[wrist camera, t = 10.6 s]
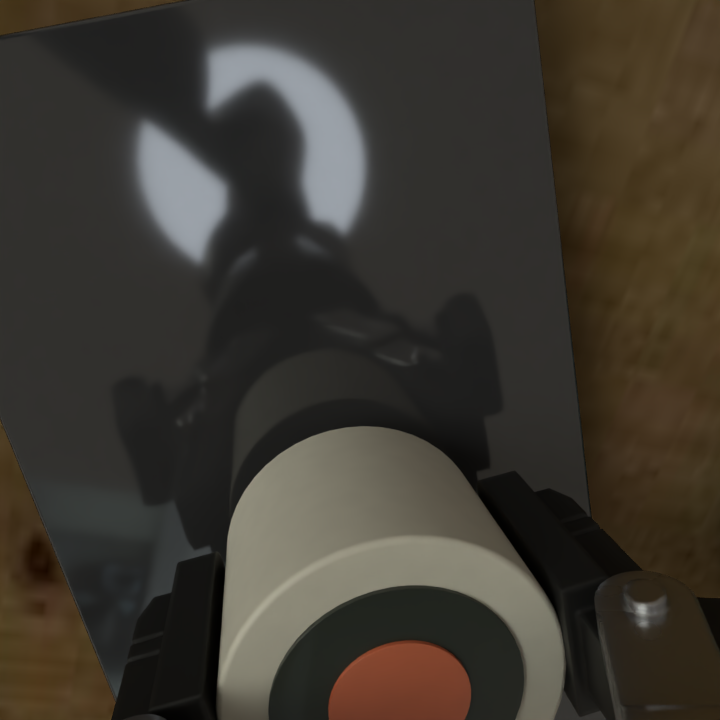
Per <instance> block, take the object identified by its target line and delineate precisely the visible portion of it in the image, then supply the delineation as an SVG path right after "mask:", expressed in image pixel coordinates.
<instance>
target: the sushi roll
mask: <svg viewBox="0 0 720 720" xmlns="http://www.w3.org/2000/svg"><path fill="white" fill-rule="evenodd" d="M565 675H566V658H565V651H564V644H563V637H562V631H561V626H560V623H559V619H558V616H557V613H556V611H555V609H554V606H553V605H552V603H551V601H550V600H549V598H548V597H547V595H546V593H545V592H544V590H543V589H542V587H541V586H540V584H539V583H538V581H537V580H536V579H535V577H534V576H533V574H532V573H531V571H530V570H529V568H528V567H527V566H526V564H525V563H524V561H523V560H522V558H521V557H520V556H519V554H518V553H517V551H516V550H515V548H514V547H513V545H512V544H511V543H510V541H509V540H508V538H507V537H506V535H505V534H504V532H503V531H502V530H501V528H500V527H499V525H498V524H497V522H496V521H495V520H494V518H493V517H492V515H491V514H490V512H489V511H488V509H487V508H486V507H485V505H484V504H483V502H482V501H481V499H480V498H479V496H478V495H477V494H476V492H475V491H474V489H473V488H472V486H471V485H470V483H469V482H468V481H467V479H466V478H465V476H464V475H463V473H462V472H461V471H460V470H459V468H458V467H457V466H456V465H455V464H454V462H453V461H452V460H451V459H450V458H448V457H447V456H446V455H445V454H444V453H443V452H442V451H441V450H439V449H437V448H436V447H434V446H433V445H431V444H430V443H428V442H427V441H425V440H422V439H420V438H418V437H416V436H414V435H411V434H408V433H405V432H402V431H399V430H394V429H389V428H383V427H370V426H359V427H346V428H341V429H335V430H330V431H327V432H324V433H320V434H317V435H314V436H311V437H309V438H307V439H305V440H303V441H301V442H299V443H296V444H295V445H293V446H291V447H290V448H288V449H287V450H285V451H283V452H282V453H280V454H279V455H278V456H277V457H275V458H274V459H273V460H272V461H270V462H269V463H268V464H267V465H266V466H265V467H264V468H263V469H262V470H261V471H260V472H259V473H258V474H257V475H256V476H255V477H254V479H253V480H252V481H251V483H250V484H249V485H248V487H247V488H246V490H245V491H244V493H243V495H242V497H241V498H240V500H239V502H238V504H237V506H236V509H235V511H234V514H233V517H232V519H231V523H230V528H229V532H228V539H227V553H226V567H225V580H224V594H223V608H222V622H221V636H220V650H219V664H218V677H217V691H216V706H215V708H216V718H217V720H554V718H555V715H556V712H557V710H558V707H559V704H560V702H561V697H562V693H563V689H564V685H565Z"/></svg>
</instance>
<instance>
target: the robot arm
mask: <svg viewBox="0 0 720 720" xmlns="http://www.w3.org/2000/svg"><path fill="white" fill-rule="evenodd" d="M477 492H478V496H479V498H480V499H481V501H482V502H483V504H484V505H485V507H486V508H487V509H488V511H489V512H490V514H491V515H492V517H493V518H494V520H495V521H496V522H497V524H498V525H499V527H500V528H501V530H502V531H503V532H504V534H505V535H506V537H507V538H508V540H509V541H510V543H511V544H512V545H513V547H514V548H515V550H516V551H517V553H518V554H519V556H520V557H521V558H522V560H523V561H524V563H525V564H526V566H527V567H528V568H529V570H530V571H531V573H532V574H533V576H534V577H535V579H536V580H537V581H538V583H539V584H540V586H541V587H542V589H543V590H544V592H545V593H546V595H547V597H548V598H549V600H550V601H551V603H552V605H553V606H554V609H555V611H556V613H557V616H558V619H559V623H560V626H561V631H562V637H563V644H564V651H565V658H566V675H565V685H564V689H563V690H564V692H565V693H566V695H567V697H568V698H569V700H570V702H571V703H572V705H573V707H574V709H575V710H576V712H577V714H578V715H579V717H582V716H585V715H589V714H592V713H595V712H598V711H601V712H602V714H603V715H604V717H605V718H606V720H720V598H700V597H696V595H695V594H694V592H693V591H692V590H691V589H690V588H689V587H688V586H686V585H685V584H684V583H682V582H681V581H679V580H677V579H675V578H673V577H670V576H668V575H665V574H661V573H657V572H651V571H643V570H642V569H641V568H640V567H639V566H638V565H637V564H636V563H635V562H634V561H633V560H632V559H631V558H630V557H629V556H628V555H627V554H626V553H625V552H624V551H623V550H622V549H621V548H620V547H619V546H618V544H617V543H616V542H615V541H614V540H613V539H612V538H611V537H610V536H609V535H608V534H607V533H606V532H605V531H604V530H603V529H600V527H599V525H598V524H597V523H596V522H595V521H594V520H593V519H592V518H591V517H590V516H589V517H588V515H587V513H586V512H585V511H584V510H583V509H582V508H581V507H580V506H579V505H578V504H577V503H576V502H575V501H574V499H573V498H571V497H568V496H566V495H564V494H562V493H559V492H557V491H555V490H553V489H550V488H548V489H544V490H540V491H537V492H534V491H533V490H532V489H531V487H530V486H529V485H528V484H527V483H526V482H525V481H524V480H523V478H522V477H521V476H520V475H519V474H518V473H517V472H516V471H511V472H507V473H504V474H500V475H496V476H493V477H489V478H485V479H482V480H478V482H477ZM224 580H225V565H224V562H223V560H222V557H221V555H220V554H219V552H213V553H210V554H206V555H202V556H199V557H195V558H191V559H188V560H184V561H181V562H178V563H177V566H176V571H175V576H174V581H173V586H172V592H171V593H168V594H164V595H161V596H157V597H154V598H153V599H152V600H151V602H150V603H149V605H148V606H147V607H146V609H145V610H144V611H143V613H142V614H141V615H140V617H139V618H138V619H137V623H136V627H135V631H134V635H133V638H132V645H131V646H130V650H129V654H128V658H127V661H128V664H126V665H125V669H124V673H123V677H122V681H121V685H120V689H119V692H118V696H117V700H116V704H115V708H114V712H113V716H112V719H111V720H217V718H216V708H215V706H216V691H217V677H218V664H219V650H220V636H221V622H222V608H223V594H224Z"/></svg>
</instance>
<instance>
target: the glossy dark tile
mask: <svg viewBox="0 0 720 720" xmlns="http://www.w3.org/2000/svg"><path fill="white" fill-rule="evenodd" d="M0 420H1V422H2V425H3V427H4V430H5V432H6V435H7V437H8V439H9V442H10V444H11V447H12V449H13V452H14V454H15V457H16V459H17V461H18V464H19V466H20V469H21V471H22V474H23V476H24V479H25V481H26V484H27V486H28V488H29V491H30V493H31V496H32V498H33V501H34V503H35V506H36V508H37V510H38V513H39V515H40V518H41V520H42V523H43V525H44V528H45V530H46V533H47V535H48V537H49V540H50V542H51V545H52V547H53V550H54V552H55V555H56V557H57V559H58V562H59V564H60V567H61V569H62V572H63V574H64V577H65V579H66V582H67V584H68V586H69V589H70V591H71V594H72V596H73V599H74V601H75V604H76V606H77V608H78V611H79V613H80V616H81V618H82V621H83V623H84V626H85V628H86V631H87V633H88V635H89V638H90V640H91V643H92V645H93V648H94V650H95V653H96V655H97V658H98V660H99V662H100V665H101V667H102V670H103V672H104V675H105V677H106V680H107V682H108V684H109V687H110V689H111V692H112V694H113V697H114V699H115V702H116V700H117V696H118V692H119V689H120V685H121V681H122V677H123V673H124V669H125V665H126V664H128V661H127V658H128V654H129V650H130V646H131V645H132V638H133V635H134V631H135V627H136V623H137V619H138V618H139V617H140V615H141V614H142V613H143V611H144V610H145V609H146V607H147V606H148V605H149V603H150V602H151V600H152V599H153V598H154V597H157V596H161V595H164V594H168V593H171V592H172V586H173V581H174V576H175V571H176V566H177V563H178V562H181V561H184V560H188V559H191V558H195V557H199V556H202V555H206V554H210V553H213V552H219V554H220V555H221V557H222V560H223V562H224V565H225V567H226V553H227V539H228V532H229V528H230V523H231V519H232V517H233V514H234V511H235V509H236V506H237V504H238V502H239V500H240V498H241V497H242V495H243V493H244V491H245V490H246V488H247V487H248V485H249V484H250V483H251V481H252V480H253V479H254V477H255V476H256V475H257V474H258V473H259V472H260V471H261V470H262V469H263V468H264V467H265V466H266V465H267V464H268V463H269V462H270V461H272V460H273V459H274V458H275V457H277V456H278V455H279V454H280V453H282V452H283V451H285V450H287V449H288V448H290V447H291V446H293V445H295V444H296V443H299V442H301V441H303V440H305V439H307V438H309V437H311V436H314V435H317V434H320V433H324V432H327V431H330V430H335V429H341V428H346V427H359V426H370V427H383V428H389V429H394V430H399V431H402V432H405V433H408V434H411V435H414V436H416V437H418V438H420V439H422V440H425V441H427V442H428V443H430V444H431V445H433V446H434V447H436V448H437V449H439V450H441V451H442V452H443V453H444V454H445V455H446V456H447V457H448V458H450V459H451V460H452V461H453V462H454V464H455V465H456V466H457V467H458V468H459V470H460V471H461V472H462V473H463V475H464V476H465V478H466V479H467V481H468V482H469V483H470V485H471V486H472V488H473V489H474V491H475V492H476V494H477V495H478V492H477V482H478V480H482V479H485V478H489V477H493V476H496V475H500V474H504V473H507V472H511V471H516V472H517V473H518V474H519V475H520V476H521V477H522V478H523V480H524V481H525V482H526V483H527V484H528V485H529V486H530V487H531V489H532V490H533V491H534V492H537V491H540V490H544V489H548V488H550V489H553V490H555V491H557V492H559V493H562V494H564V495H566V496H568V497H571V498H573V499H574V501H575V502H576V503H577V504H578V505H579V506H580V507H581V508H582V509H583V510H584V511H585V512H586V513H587V515H588V517H589V516H590V517H591V518H592V516H591V507H590V498H589V489H588V480H587V471H586V462H585V453H584V444H583V435H582V426H581V417H580V408H579V399H578V390H577V380H576V371H575V362H574V353H573V344H572V335H571V326H570V317H569V308H568V299H567V290H566V281H565V272H564V263H563V254H562V245H561V236H560V227H559V218H558V209H557V200H556V191H555V182H554V173H553V164H552V155H551V145H550V136H549V127H548V118H547V109H546V100H545V91H544V82H543V73H542V64H541V55H540V46H539V37H538V28H537V19H536V10H535V1H534V0H182V1H177V2H172V3H166V4H161V5H156V6H151V7H145V8H140V9H135V10H130V11H124V12H119V13H114V14H109V15H104V16H98V17H93V18H88V19H83V20H77V21H72V22H67V23H62V24H56V25H51V26H46V27H41V28H35V29H30V30H25V31H20V32H14V33H9V34H4V35H0ZM554 720H606V718H605V717H604V715H603V714H602V712H601V711H598V712H595V713H592V714H589V715H585V716H582V717H579V715H578V714H577V712H576V710H575V709H574V707H573V705H572V703H571V702H570V700H569V698H568V697H567V695H566V693H565V692H564V690H563V693H562V697H561V702H560V704H559V707H558V710H557V712H556V715H555V718H554Z"/></svg>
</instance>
